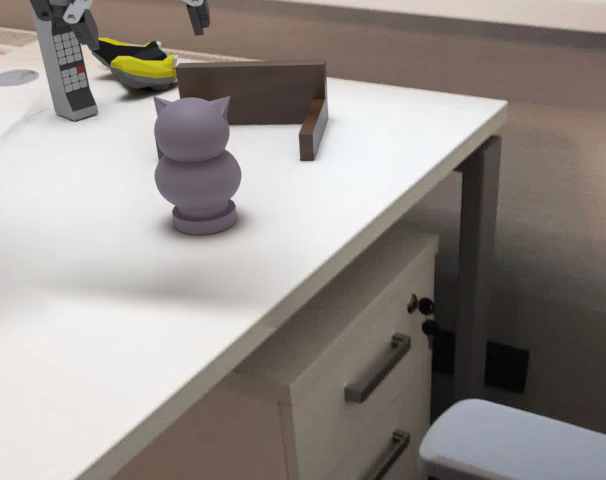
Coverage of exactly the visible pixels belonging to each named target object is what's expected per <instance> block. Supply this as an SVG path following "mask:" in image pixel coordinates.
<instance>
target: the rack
mask: <svg viewBox="0 0 606 480" xmlns="http://www.w3.org/2000/svg"><path fill="white" fill-rule="evenodd" d="M176 66H177V67H176V75H177V80H176V81H177V88H178V95H179V99H182V98H200V99H204V100H207V101H213V100H217V99H221V98H224V97H228V96H230V101H229V106H228V112H227V117H226V119H227V121H228V124H229V126H249V125H250V124H260V125H301V127H300V129H299V132H298V146H299V147H298V148H299V161H314V160H315V159H316V156H317V152H318V150H319V146H320V144H321V141H322V137H323V135H324V132H325V129H326V126H327V124H328V120H329V101H328V78H327V59H326V58H325V59H324V58H322V59H293V60H292V59H283V60H280V59H279V60H246V61H243V60H242V61H211V62H210V61H208V62H207V61H206V62H179V63H178V64H176ZM247 124H249V125H247ZM250 126H251V125H250ZM154 140H155V146H156V152H157V157H158V162H159V161H160V159H161V158H162V156H163V155H164V153H163V152H162V151H161V150H160V148H159V146H158V144H157V142H156V139H155V138H154Z"/></svg>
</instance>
